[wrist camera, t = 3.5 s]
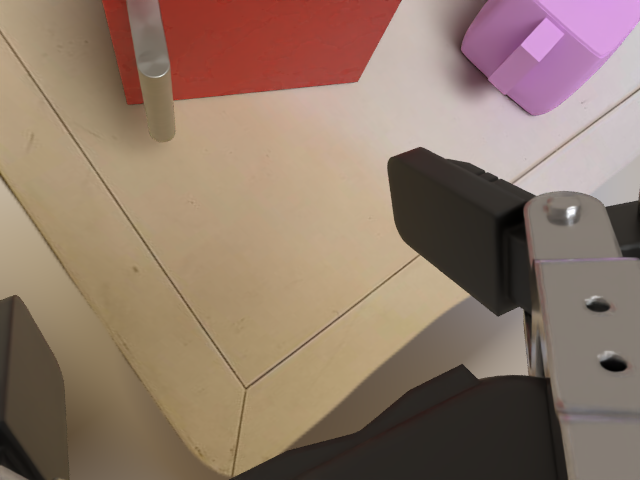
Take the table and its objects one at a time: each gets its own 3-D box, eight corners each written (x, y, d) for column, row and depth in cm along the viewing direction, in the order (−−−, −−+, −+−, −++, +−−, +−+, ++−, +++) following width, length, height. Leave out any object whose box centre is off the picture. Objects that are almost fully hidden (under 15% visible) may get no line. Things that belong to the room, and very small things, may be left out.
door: (373, 143, 44) (469, 15, 29) (138, 174, 40) (102, 42, 24) (355, 72, 45) (438, -87, 30) (125, 95, 41) (83, -79, 26)
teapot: (538, -52, 53) (616, -150, 43) (623, 24, 53) (720, -57, 43) (426, 67, 47) (486, -15, 37) (521, 152, 47) (606, 92, 37)
